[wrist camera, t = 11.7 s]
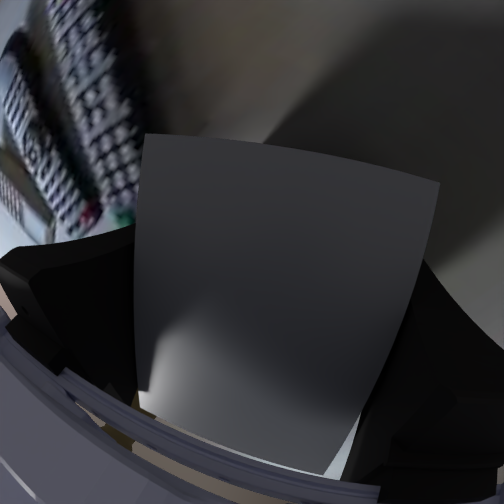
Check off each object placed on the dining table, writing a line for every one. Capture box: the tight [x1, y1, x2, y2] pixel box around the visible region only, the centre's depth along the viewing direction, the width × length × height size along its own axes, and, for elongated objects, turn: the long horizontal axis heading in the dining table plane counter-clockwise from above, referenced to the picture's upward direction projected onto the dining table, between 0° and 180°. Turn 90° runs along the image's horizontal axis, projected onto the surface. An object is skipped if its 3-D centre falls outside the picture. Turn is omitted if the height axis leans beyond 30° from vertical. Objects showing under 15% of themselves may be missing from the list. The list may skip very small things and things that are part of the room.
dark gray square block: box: [134, 134, 440, 475], centre depth 10 cm, size 6×8×7 cm
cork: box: [100, 388, 157, 452], centre depth 31 cm, size 6×6×11 cm
